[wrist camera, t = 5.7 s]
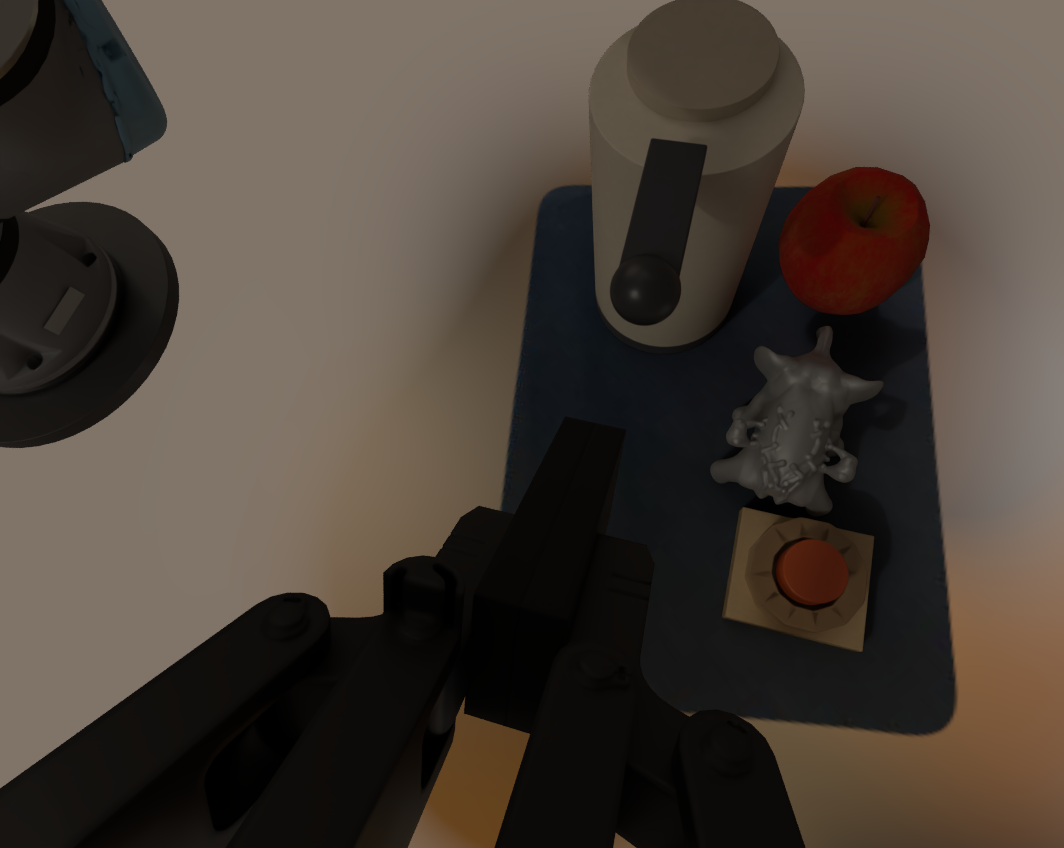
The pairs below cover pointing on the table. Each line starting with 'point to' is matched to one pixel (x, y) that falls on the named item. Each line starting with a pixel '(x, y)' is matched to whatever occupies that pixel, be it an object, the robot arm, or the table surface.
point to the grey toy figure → (795, 428)
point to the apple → (854, 240)
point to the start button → (812, 572)
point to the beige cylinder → (695, 117)
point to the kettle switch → (658, 233)
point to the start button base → (767, 604)
